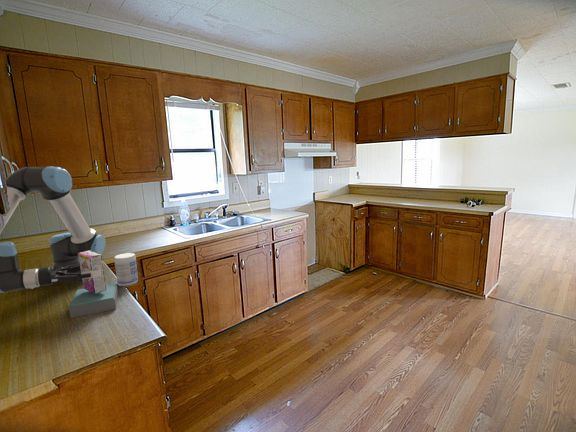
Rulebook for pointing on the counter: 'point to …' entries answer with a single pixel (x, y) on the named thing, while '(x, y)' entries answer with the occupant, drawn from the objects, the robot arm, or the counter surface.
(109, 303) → the block
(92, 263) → the candy bar box
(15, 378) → the counter surface
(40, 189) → the robot arm
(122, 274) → the supplement tub
